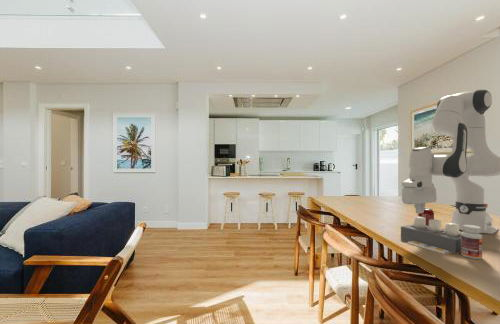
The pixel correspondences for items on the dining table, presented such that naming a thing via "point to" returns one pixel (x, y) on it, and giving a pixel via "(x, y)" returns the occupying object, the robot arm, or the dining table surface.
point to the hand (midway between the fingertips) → (419, 213)
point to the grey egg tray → (432, 238)
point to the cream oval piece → (419, 222)
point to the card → (428, 247)
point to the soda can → (427, 215)
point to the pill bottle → (471, 242)
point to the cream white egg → (435, 226)
